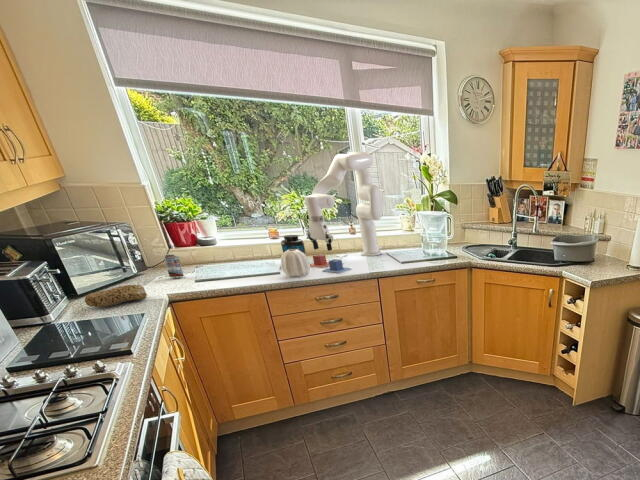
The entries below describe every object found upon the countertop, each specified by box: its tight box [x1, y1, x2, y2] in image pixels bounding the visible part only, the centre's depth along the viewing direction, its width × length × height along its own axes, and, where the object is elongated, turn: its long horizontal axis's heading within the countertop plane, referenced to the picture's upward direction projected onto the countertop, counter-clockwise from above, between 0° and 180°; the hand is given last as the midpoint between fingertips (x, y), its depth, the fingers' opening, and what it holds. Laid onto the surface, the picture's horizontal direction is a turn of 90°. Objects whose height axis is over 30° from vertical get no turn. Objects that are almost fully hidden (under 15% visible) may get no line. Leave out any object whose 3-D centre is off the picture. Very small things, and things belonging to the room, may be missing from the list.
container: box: [280, 234, 307, 256], centre depth 243 cm, size 12×12×16 cm
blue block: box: [328, 258, 344, 271], centre depth 235 cm, size 5×5×5 cm
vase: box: [280, 249, 311, 277], centre depth 222 cm, size 14×14×13 cm
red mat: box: [309, 261, 330, 269], centre depth 247 cm, size 11×11×1 cm
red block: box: [312, 254, 327, 265], centre depth 245 cm, size 5×5×5 cm
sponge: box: [84, 284, 148, 308], centre depth 177 cm, size 13×8×20 cm
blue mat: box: [322, 266, 352, 274], centre depth 236 cm, size 11×11×1 cm
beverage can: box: [163, 253, 185, 279], centre depth 213 cm, size 6×7×12 cm
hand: (323, 249), depth 245 cm, fingers open, 9 cm apart
